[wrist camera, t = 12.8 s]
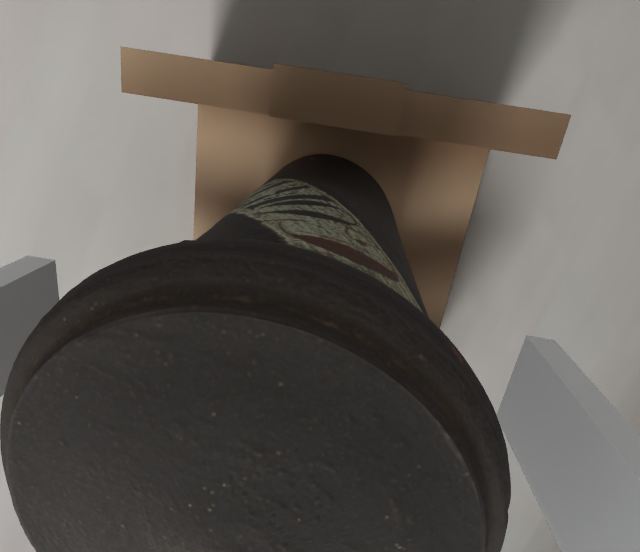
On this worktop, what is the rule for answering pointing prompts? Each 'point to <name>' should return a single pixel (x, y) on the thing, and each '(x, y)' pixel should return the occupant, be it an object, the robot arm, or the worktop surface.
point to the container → (256, 393)
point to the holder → (346, 144)
